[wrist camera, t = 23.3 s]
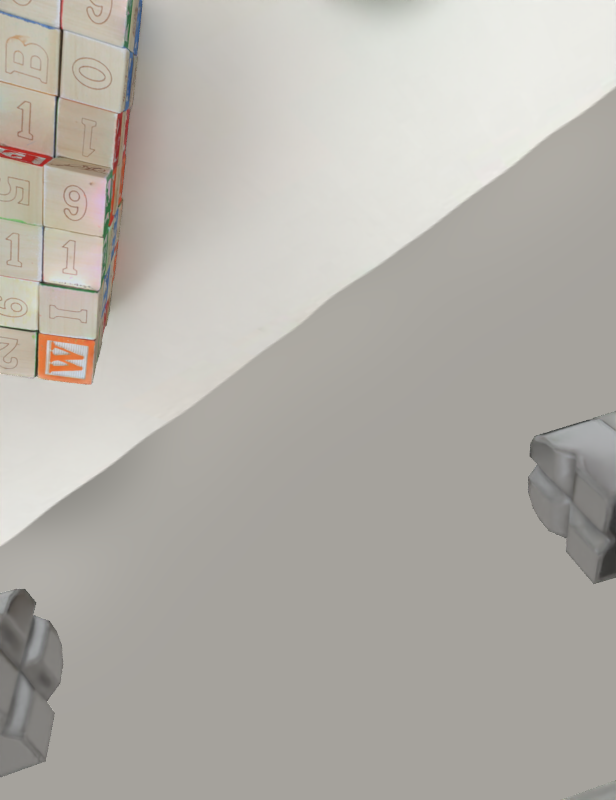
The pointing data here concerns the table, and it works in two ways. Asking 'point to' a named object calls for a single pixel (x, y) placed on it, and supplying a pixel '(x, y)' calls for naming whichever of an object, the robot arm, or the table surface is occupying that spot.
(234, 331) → the table surface
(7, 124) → the stack of blocks
